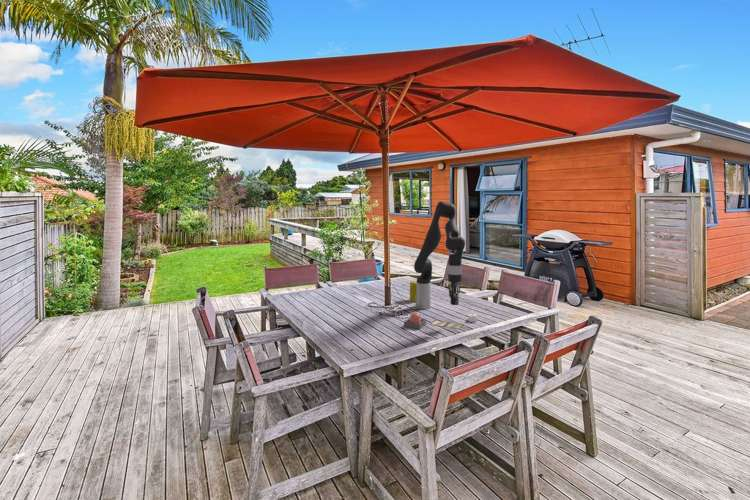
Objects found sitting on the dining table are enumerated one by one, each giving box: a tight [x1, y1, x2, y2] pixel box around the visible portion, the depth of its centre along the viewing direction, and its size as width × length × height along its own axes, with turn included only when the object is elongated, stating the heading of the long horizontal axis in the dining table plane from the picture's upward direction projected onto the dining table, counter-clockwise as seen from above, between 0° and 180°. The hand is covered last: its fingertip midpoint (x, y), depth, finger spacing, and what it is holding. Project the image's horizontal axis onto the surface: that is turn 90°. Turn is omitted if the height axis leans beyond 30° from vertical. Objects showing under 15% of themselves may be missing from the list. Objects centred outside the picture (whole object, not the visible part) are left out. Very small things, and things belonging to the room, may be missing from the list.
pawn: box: [450, 291, 460, 306], centre depth 208 cm, size 4×4×7 cm
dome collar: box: [403, 317, 427, 330], centre depth 211 cm, size 10×10×4 cm
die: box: [468, 313, 478, 323], centre depth 218 cm, size 4×4×4 cm
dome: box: [409, 312, 422, 323], centre depth 210 cm, size 6×6×6 cm
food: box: [409, 280, 417, 303], centre depth 269 cm, size 15×12×10 cm
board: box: [428, 319, 465, 330], centre depth 212 cm, size 18×10×1 cm, turn 60°
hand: (454, 302), depth 208 cm, fingers closed on pawn, 4 cm apart
